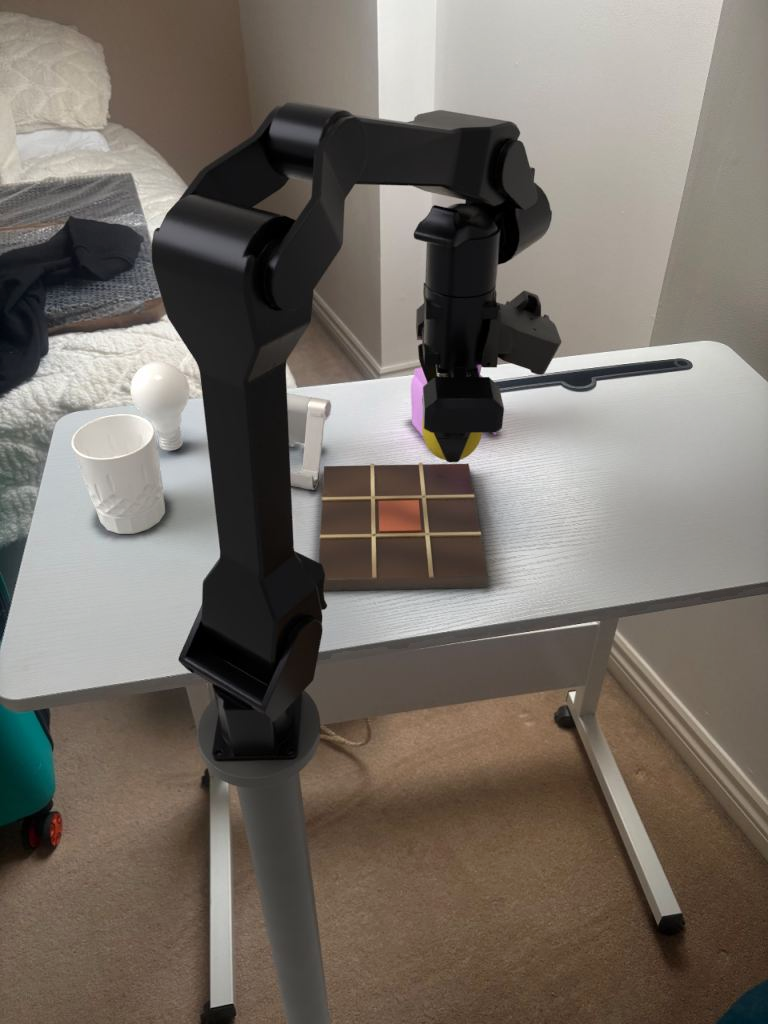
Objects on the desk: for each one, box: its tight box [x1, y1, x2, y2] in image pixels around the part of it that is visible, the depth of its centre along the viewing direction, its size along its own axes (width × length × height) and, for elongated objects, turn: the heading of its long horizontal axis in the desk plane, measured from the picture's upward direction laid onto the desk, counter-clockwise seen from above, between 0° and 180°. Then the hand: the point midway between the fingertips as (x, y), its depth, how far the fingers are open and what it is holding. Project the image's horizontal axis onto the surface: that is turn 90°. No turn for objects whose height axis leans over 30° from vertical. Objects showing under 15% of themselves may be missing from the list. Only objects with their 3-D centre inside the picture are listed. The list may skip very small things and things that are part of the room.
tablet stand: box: [287, 392, 332, 491], centre depth 91 cm, size 9×8×8 cm
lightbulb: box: [129, 360, 191, 452], centre depth 93 cm, size 6×6×11 cm
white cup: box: [70, 413, 166, 535], centre depth 84 cm, size 8×8×10 cm
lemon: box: [422, 420, 483, 461], centre depth 76 cm, size 6×6×8 cm
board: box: [318, 462, 489, 592], centre depth 85 cm, size 18×16×2 cm
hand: (450, 443), depth 77 cm, fingers closed on lemon, 5 cm apart
